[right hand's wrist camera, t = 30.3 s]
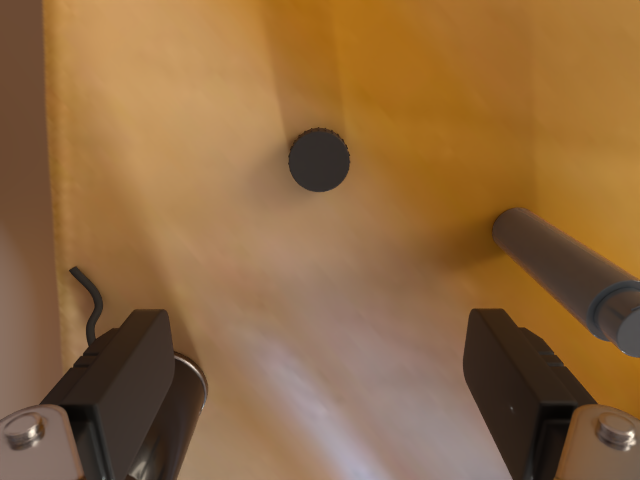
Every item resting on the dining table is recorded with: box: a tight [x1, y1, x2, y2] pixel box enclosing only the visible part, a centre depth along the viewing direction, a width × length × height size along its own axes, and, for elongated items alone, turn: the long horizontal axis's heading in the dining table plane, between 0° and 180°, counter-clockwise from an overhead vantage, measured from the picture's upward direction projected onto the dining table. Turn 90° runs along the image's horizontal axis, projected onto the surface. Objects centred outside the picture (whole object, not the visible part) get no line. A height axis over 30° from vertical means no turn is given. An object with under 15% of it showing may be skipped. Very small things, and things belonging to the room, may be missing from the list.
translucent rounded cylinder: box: [492, 208, 640, 357], centre depth 32 cm, size 4×4×17 cm
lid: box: [288, 127, 350, 192], centre depth 36 cm, size 5×5×2 cm
